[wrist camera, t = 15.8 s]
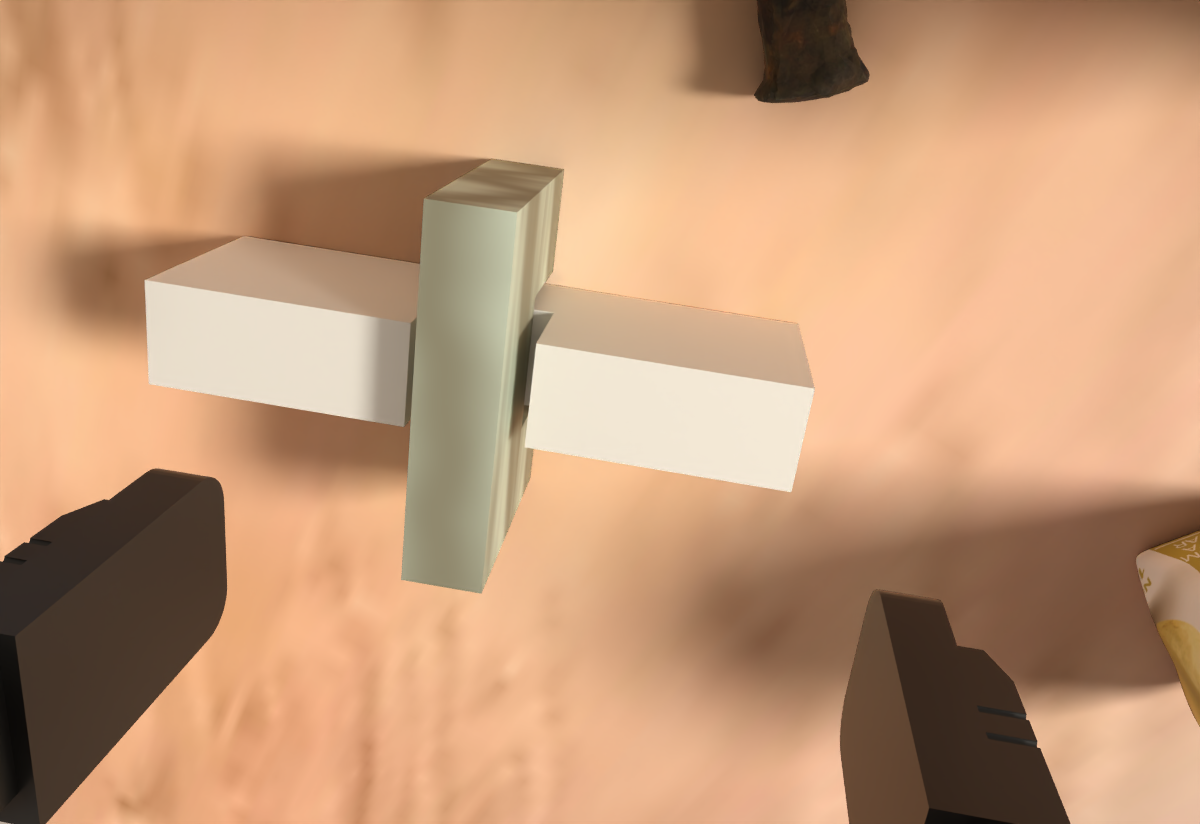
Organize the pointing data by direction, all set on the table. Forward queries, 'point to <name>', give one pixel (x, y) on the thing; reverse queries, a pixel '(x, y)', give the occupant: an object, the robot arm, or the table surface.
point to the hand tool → (807, 50)
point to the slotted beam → (555, 369)
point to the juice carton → (1176, 606)
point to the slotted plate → (474, 366)
